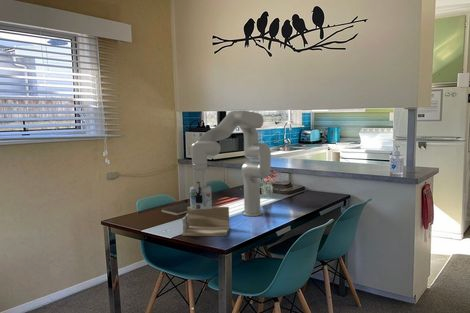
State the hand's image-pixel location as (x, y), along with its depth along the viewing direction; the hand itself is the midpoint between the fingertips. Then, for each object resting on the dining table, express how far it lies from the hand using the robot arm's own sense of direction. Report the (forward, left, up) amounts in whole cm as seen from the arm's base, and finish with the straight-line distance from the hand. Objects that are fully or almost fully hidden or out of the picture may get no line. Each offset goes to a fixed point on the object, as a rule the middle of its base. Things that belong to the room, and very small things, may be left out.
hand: (200, 200), depth 210 cm
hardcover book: (-48, -22, -17) cm, 55 cm away
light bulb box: (0, 0, -4) cm, 4 cm away
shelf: (-1, +2, -16) cm, 17 cm away
